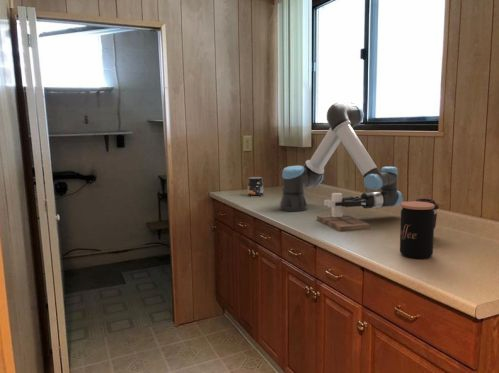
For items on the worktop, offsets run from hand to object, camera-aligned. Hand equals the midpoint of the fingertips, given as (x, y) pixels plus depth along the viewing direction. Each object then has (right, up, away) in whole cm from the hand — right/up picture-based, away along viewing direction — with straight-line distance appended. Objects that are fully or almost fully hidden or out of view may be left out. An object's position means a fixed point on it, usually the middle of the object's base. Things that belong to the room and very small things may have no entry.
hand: (326, 203), depth 193 cm
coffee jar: (+22, -16, -50) cm, 56 cm away
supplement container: (-32, +2, +82) cm, 88 cm away
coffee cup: (+34, -12, -27) cm, 45 cm away
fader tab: (+5, -6, +2) cm, 8 cm away
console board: (+7, -9, -2) cm, 12 cm away
